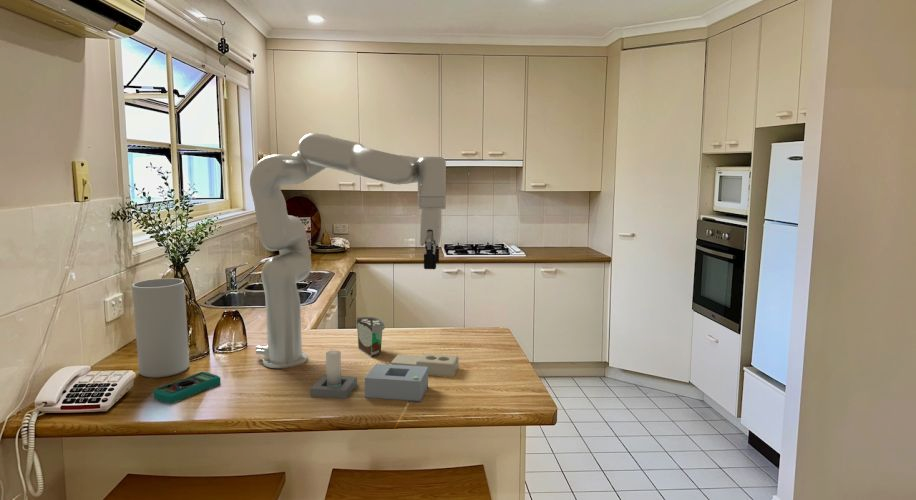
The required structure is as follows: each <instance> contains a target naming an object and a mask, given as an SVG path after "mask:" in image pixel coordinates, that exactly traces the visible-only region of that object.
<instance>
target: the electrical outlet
mask: <svg viewBox="0 0 916 500" xmlns="http://www.w3.org/2000/svg"><path fill="white" fill-rule="evenodd" d="M390 365H406V366H423V367H428V376H437V377H447V378H454V377H455V376H456V374H457V372H458V370H459V356H458V355H454V354H453V355H451V354H450V355H448V354H437V353H436V354H435V353H422V354H421V355H417V354H402V353H398V354H397V355H396V356H395V357H394V358H393V359H392V361H391V362H390Z"/></svg>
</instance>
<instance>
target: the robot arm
mask: <svg viewBox="0 0 916 500" xmlns="http://www.w3.org/2000/svg"><path fill="white" fill-rule="evenodd" d="M297 145H298V147H297V149H298V151H297V152H294V153H293V154H282V153H281V154H279V153H277V154H276V153H275V154H271V155H267V156H265V157H263V158H261V159H260V160H258V162H256V163H255V165H254V166H253V168H252V170H251V171H250V177H249V187H250V191H251V196H252V201H253V205H254V211H255V218H256V224H257V229H258V230H257V231H258V236H259V240H260V243H261V245H262V246H263V247H264V248H265V249H266V250H268V251H271V252H276V251H278V252H279V253H278V255H275V256H272V257H270V258H269V259H267V260H266V261H265V263H264V264H263V266H262V268H261V275H260V276H261V278H260V279H261V282H262V283H261V284H262V287H263V291H264V298H265V315H266V319H265V320H266V335H267V336H266V337H267V338H266V339H267V345H266V346H264V345H256V346H255V354H256V355H263V356H264V357H263V358H262V365H264V366H265V367H267V368H271V369H286V368H293V367H296V366H300V365H302V364H304V363H305V362H307V361H308V359H309V358H308V354H307V353H306V352H304V351H303V347H302V346H303V345H302V343H303V342H302V341H303V340H302V317H301V314H302V313H301V311H302V310H301V298H300V295H299V294H300V293H299V290H298V287H297V284H298V283H299V282H302V281H304V280H305V279H306V278H308V277H309V275H310V273H311V271H312V258H311V251H310V246H309V239H308V234H307V231H306V228H305V225H304V223H303V222H302V221H301V219H299V218H298V217H296V216H294V215H289V214H288V210H287V203H286V199H285V195H284V194H283V192H282V190H281V187H282V186H286V185H287V186H290V185H298V184H302V183H304V182H306V181H307V180H309V179H311V178H312V177H315V175H317V174H318V173H320V172H322V171H323V170H325V169H326V168H327V169H328V168H329V169H332V170H335V171H336V170H337V171H339V172H344V173H346V174H347V173H348V174H352V175H355V176H360V177H364V178H367V179H371V180H376V181H379V182H384V183H388V184H391V185H407V184H414V183H417V210H418V209H419V210H421V211H420V212H421V213H420V228H419V229H420V231H419V233H420V234H419V235H420V236H419V245H420V246H421V247H424V253H423V269H424V270H436V269H437V264H439V262H440V248H439V245H440V242H441V235H442V210H446V208H447V207H446V206H447V200H446V199H447V194H446V193H447V187H446V185H447V183H446V182H447V175H446V173H447V163H446V160H445V158H443V157H442V156H421V157H416V156H409V155H399V154H395V153H394V154H393V153H389V152H385V151H381V150H376V149H373V148H369V147H366V146H365V145H363V144H362V143H359V142H357V141H351V140H349V139H348V140H346V139H343V138H338V137H334V136H331V135H328V134H324V133H317V132H316V133H315V132H312V133H308V134H305V135H304V136H302V138H300V140H299V142H298V144H297Z"/></svg>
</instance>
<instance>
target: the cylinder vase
mask: <svg viewBox="0 0 916 500" xmlns="http://www.w3.org/2000/svg"><path fill="white" fill-rule="evenodd" d="M131 289H132V290H131V291H132V300H133V301H132V302H133V313H134V326H135V336H136V338H135V339H136V353H137V360H138V361H137V363H138V373H139V375H141V376H142V377H146V378H151V379H152V378H154V379H155V378H166V377H171V376H175V375H179V374H181V373H183V372H184V371H186V370H188V369H189V366H190V352H189V335H188V321H187V307H186V306H187V305H186V291H185V281H184V279H182V278H174V277H172V278H171V277H170V278H169V277H168V278H153V279H152V278H151V279H145V280H140V281H137V282H134V283H132V286H131Z"/></svg>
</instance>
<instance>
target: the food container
mask: <svg viewBox="0 0 916 500" xmlns="http://www.w3.org/2000/svg"><path fill="white" fill-rule="evenodd" d="M355 323H356V329H357V342H358V345H357V346H358V348H357V349H358V350H360V351H361V352H363V353H364V354H365V355H367V356H368V357H370V358H375V357H378V356H379V355H380V354H382V344H383V343H382V341H383V330H385V324H384V321H383V319H381V318H379V317H374V316H373V317H372V316H359V317H357V316H356V322H355Z"/></svg>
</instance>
